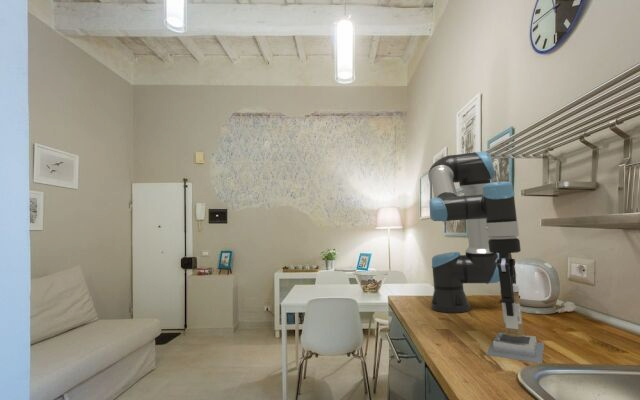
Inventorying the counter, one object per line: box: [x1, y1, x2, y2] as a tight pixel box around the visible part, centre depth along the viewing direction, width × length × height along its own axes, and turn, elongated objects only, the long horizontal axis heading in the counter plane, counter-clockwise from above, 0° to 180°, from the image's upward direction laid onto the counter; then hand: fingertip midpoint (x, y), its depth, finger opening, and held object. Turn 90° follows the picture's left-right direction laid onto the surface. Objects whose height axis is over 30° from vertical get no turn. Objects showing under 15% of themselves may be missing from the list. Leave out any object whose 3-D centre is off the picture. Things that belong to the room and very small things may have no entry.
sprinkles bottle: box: [498, 283, 525, 337], centre depth 87 cm, size 5×5×13 cm
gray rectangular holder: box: [485, 341, 545, 365], centre depth 86 cm, size 16×12×1 cm
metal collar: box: [492, 331, 537, 357], centre depth 86 cm, size 9×9×2 cm
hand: (513, 325), depth 87 cm, fingers closed on sprinkles bottle, 4 cm apart
